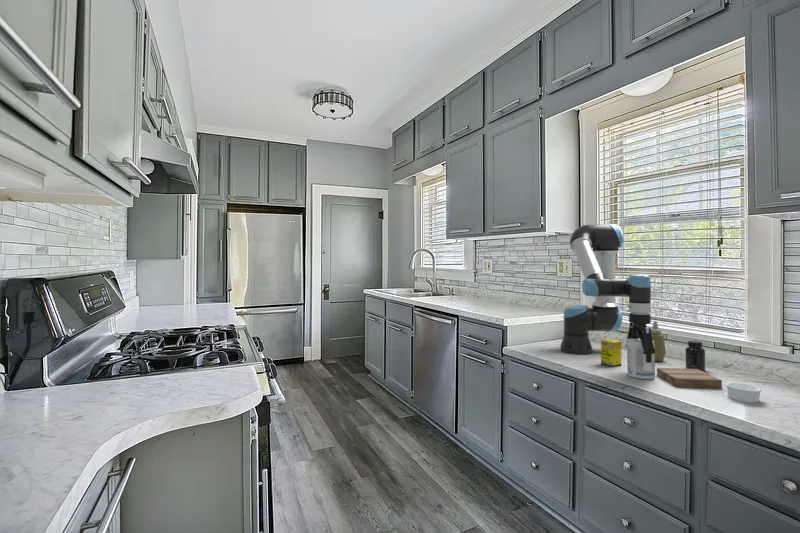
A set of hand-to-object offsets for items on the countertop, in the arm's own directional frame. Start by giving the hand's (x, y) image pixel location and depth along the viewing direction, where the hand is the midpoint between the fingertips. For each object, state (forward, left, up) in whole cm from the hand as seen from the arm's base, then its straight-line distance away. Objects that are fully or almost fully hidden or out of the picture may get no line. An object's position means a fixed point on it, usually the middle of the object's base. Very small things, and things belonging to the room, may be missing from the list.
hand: (639, 365), depth 160 cm
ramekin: (+23, +23, -5) cm, 33 cm away
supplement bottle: (-13, +27, -5) cm, 30 cm away
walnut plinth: (+5, +15, -4) cm, 16 cm away
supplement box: (-17, -5, -5) cm, 18 cm away
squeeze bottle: (-28, +18, -5) cm, 34 cm away
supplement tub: (0, 0, -5) cm, 5 cm away
